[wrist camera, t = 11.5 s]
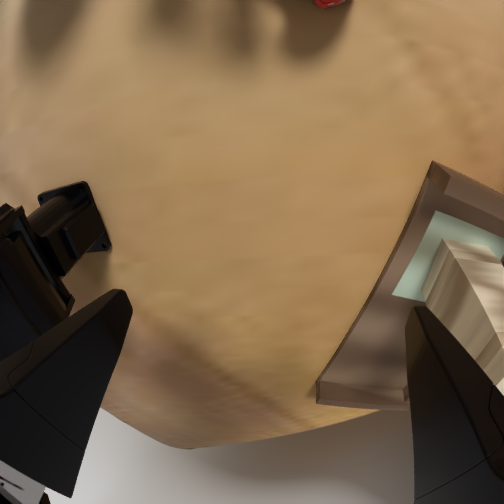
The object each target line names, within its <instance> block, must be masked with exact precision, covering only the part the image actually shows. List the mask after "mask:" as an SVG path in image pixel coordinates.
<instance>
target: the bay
mask: <svg viewBox="0 0 504 504" xmlns="http://www.w3.org/2000/svg"><path fill="white" fill-rule="evenodd" d="M442 238H443V239H449V240H455V241H461V242H466V243H472V244H477V245H483V246H488V247H489V248H490V249H491V251H492V252H493V253H494V255H495V256H496V257H498V259H499V260H500V261H501V263H502V266H503V267H504V195H502V194H500V193H498V192H497V191H495V190H493V189H491V188H489V187H487V186H485V185H483V184H481V183H479V182H477V181H475V180H473V179H471V178H469V177H467V176H465V175H463V174H461V173H459V172H457V171H455V170H453V169H450V168H448V167H446V166H444V165H441V164H439V163H437V162H435V161H432V163H431V166H430V168H429V171H428V173H427V176H426V179H425V181H424V183H423V186H422V188H421V191H420V193H419V196H418V198H417V200H416V203H415V205H414V207H413V209H412V212H411V214H410V216H409V218H408V221H407V223H406V225H405V227H404V229H403V231H402V234H401V236H400V238H399V240H398V242H397V244H396V246H395V248H394V250H393V252H392V254H391V256H390V258H389V260H388V262H387V264H386V266H385V268H384V270H383V272H382V274H381V275H380V277H379V279H378V281H377V283H376V285H375V287H374V288H373V290H372V292H371V294H370V296H369V297H368V299H367V301H366V303H365V305H364V306H363V308H362V310H361V311H360V313H359V315H358V317H357V318H356V320H355V322H354V323H353V325H352V327H351V328H350V330H349V332H348V333H347V335H346V337H345V338H344V340H343V341H342V343H341V345H340V346H339V348H338V349H337V351H336V352H335V354H334V355H333V357H332V359H331V360H330V362H329V363H328V365H327V366H326V368H325V369H324V371H323V372H322V374H321V375H320V377H319V378H318V379H317V381H316V404H322V405H331V406H340V407H351V408H363V409H378V410H403V411H406V410H408V408H410V400H409V392H408V384H407V371H406V345H405V325H406V322H407V319H408V316H409V314H410V311H411V308H412V307H413V306H415V305H425V306H426V303H425V298H424V296H423V293H422V291H421V288H422V286H423V284H424V282H425V280H426V277H427V275H428V273H429V270H430V268H431V266H432V263H433V261H434V259H435V256H436V254H437V251H438V249H439V246H440V244H441V241H442Z"/></svg>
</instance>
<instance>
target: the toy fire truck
mask: <svg viewBox="0 0 504 504" xmlns="http://www.w3.org/2000/svg"><path fill="white" fill-rule="evenodd" d="M344 1H346V0H314V2H315V4H316V5H317V6H318V7H320V8H327V7H332V6H335V5H338V4H340V3H342V2H344Z"/></svg>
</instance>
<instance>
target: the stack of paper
mask: <svg viewBox="0 0 504 504" xmlns="http://www.w3.org/2000/svg"><path fill="white" fill-rule="evenodd" d="M421 291H422V293H423V296H424V298H425V303H426V306H427V307H428V308H429V309H430V310H431V312H432V313H433V314H434V315H435V316H436V317H437V318H438V319H439V320H440V321H441V322H442V323H443V324H444V326H445V327H446V328H447V329H448V330H449V331H450V332H451V333H452V334H453V336H454V337H455V338H456V339H457V340H458V341H459V342H460V344H461V345H462V346H463V347H464V348H465V349H466V350H467V352H468V353H469V354H470V355H471V356H472V357H473V359H474V360H475V361H476V362H477V363H478V365H479V366H480V367H481V368H482V369H483V371H484V372H485V373H486V374H487V376H488V377H489V378H490V379H491V381H492V382H493V385H496V387H497V388H498V389H499V390H500V392H501V393H502V394H503V395H504V267H503V266H502V263H501V261H500V260H499V259H498V257H496V256H495V255H494V253H493V252H492V251H491V249H490V248H489V247H488V246H483V245H477V244H472V243H466V242H461V241H455V240H449V239H443V238H442V241H441V244H440V246H439V249H438V251H437V254H436V256H435V259H434V261H433V263H432V266H431V268H430V270H429V273H428V275H427V277H426V280H425V282H424V284H423V286H422V288H421Z"/></svg>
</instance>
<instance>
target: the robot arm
mask: <svg viewBox="0 0 504 504" xmlns="http://www.w3.org/2000/svg"><path fill="white" fill-rule="evenodd" d="M82 187H83V188H84V189H83V188H82ZM42 198H43V199H42ZM38 201H39V204H40V207H39V208H38V209H36V210H35V211H34V212H33V213H31V214H30V215H29V216H28V217H26V215H25V213H24V212H25V211H24V209H23V207H22V205H21V206H19V207H17V208H15V209H14V208H13V207H11V206H10V205H8V204H7V203H5V204H4V205H2V206H1V207H0V504H50V501H49V498H48V495H47V494H46V493H45V492H44V490H45V487H48V488H50V489H52V490H54V491H56V492H58V493H60V494H62V495H64V496H66V497H69V498H71V497H72V495H73V491H74V488H75V484H76V480H77V477H78V473H79V470H80V467H81V463H82V460H83V457H84V453H85V449H86V447H87V444H88V440H89V437H90V434H91V431H92V428H93V425H94V422H95V419H96V417H97V414H98V411H99V408H100V405H101V403H102V400H103V397H104V394H105V392H106V389H107V386H108V384H109V381H110V378H111V376H112V373H113V371H114V368H115V366H116V363H117V360H118V358H119V355H120V353H121V350H122V347H123V343H124V340H125V337H126V333H127V330H128V327H129V323H130V320H131V317H132V313H133V309H132V305H131V303H130V301H129V298H128V296H127V294H126V292H125V291H124V290H122V289H112V290H110V291H109V292H107V293H106V294H104V295H102V296H101V297H99V298H98V299H96V300H95V301H93V302H91V303H90V304H88V305H87V306H85V307H84V308H82V309H81V310H79V311H77V312H76V313H74V314H73V315H71V316H70V317H69V315H70V312H71V310H72V307H73V304H74V302H75V299H74V298H73V296H72V294H70V293H69V292H68V290H67V289H66V287H65V285H64V284H63V282H62V281H61V279H62V278H63V277H64V276H65V275H66V274H67V273H68V272H69V271H70V270H71V268H72V267H73V266H74V265H75V264H76V263H77V261H78V260H79V259H81V258H82V257H83V255H84V254H85V253H88V252H100V251H107V250H108V249H109V248H110V247H111V243H110V241H109V239H108V236H107V234H106V231H105V229H104V226H103V224H102V221H101V219H100V216H99V213H98V211H97V208H96V206H95V203H94V200H93V197H92V195H91V192H90V189H89V186H88V184H87V183H86V182H85V181H81V182H77V183H73V184H70V185H66V186H63V187H59V188H56V189H52V190H49V191H46V192H43V193H41V194H39V195H38ZM104 244H105V245H106V246H105V245H104ZM405 345H406V371H407V384H408V392H409V400H410V410H411V420H412V433H413V450H414V484H415V485H414V499H415V500H414V504H504V395H503V394H502V393H501V392H500V390H499V389H498V388H497V387H496V385H493V382H492V381H491V379H490V378H489V377H488V376H487V374H486V373H485V372H484V371H483V369H482V368H481V367H480V366H479V365H478V363H477V362H476V361H475V360H474V359H473V357H472V356H471V355H470V354H469V353H468V352H467V350H466V349H465V348H464V347H463V346H462V345H461V344H460V342H459V341H458V340H457V339H456V338H455V337H454V336H453V334H452V333H451V332H450V331H449V330H448V329H447V328H446V327H445V326H444V324H443V323H442V322H441V321H440V320H439V319H438V318H437V317H436V316H435V315H434V314H433V313H432V312H431V310H430V309H429V308H428V307H427V306H425V305H415V306H413V307H412V308H411V311H410V314H409V316H408V319H407V322H406V325H405Z"/></svg>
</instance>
